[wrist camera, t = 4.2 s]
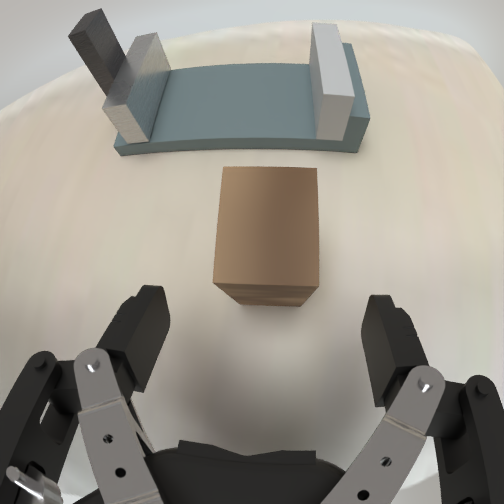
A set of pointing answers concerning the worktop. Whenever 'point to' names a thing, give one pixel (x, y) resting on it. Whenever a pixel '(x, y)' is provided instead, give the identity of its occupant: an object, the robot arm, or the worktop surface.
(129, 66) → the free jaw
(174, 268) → the worktop surface
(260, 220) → the block
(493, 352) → the worktop surface
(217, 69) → the vise
